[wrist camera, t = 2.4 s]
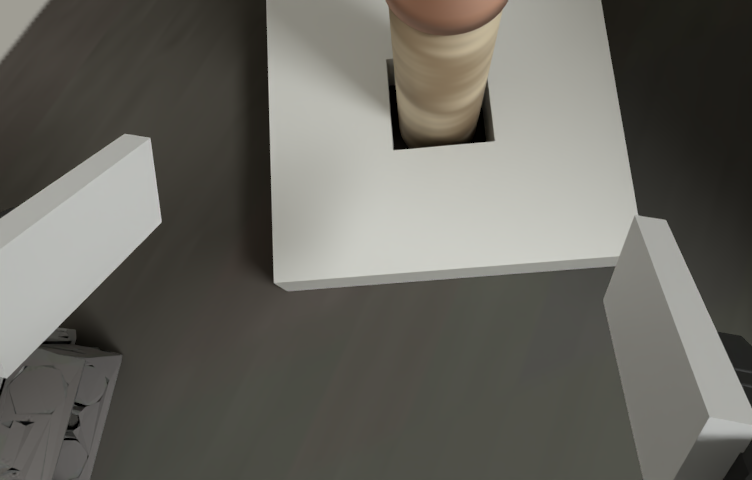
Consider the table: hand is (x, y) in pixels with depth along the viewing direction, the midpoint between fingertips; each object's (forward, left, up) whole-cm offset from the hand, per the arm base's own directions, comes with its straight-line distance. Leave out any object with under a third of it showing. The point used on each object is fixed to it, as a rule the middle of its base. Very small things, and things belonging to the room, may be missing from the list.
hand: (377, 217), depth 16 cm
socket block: (-3, -10, -16) cm, 19 cm away
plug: (-3, -10, -16) cm, 19 cm away
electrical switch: (+17, +5, -16) cm, 24 cm away
